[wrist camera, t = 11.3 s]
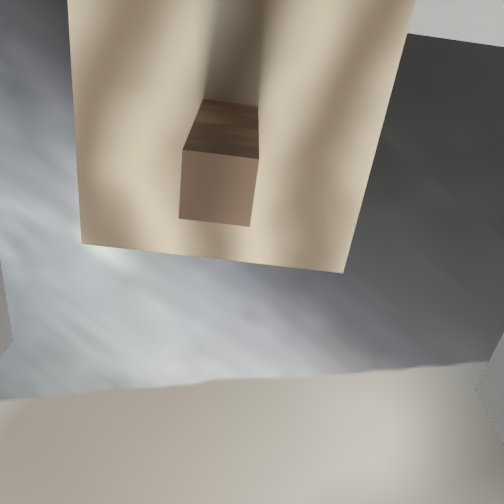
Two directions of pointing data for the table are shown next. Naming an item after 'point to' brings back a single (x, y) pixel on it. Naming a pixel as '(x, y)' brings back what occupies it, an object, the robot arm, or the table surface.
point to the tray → (460, 20)
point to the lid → (231, 123)
